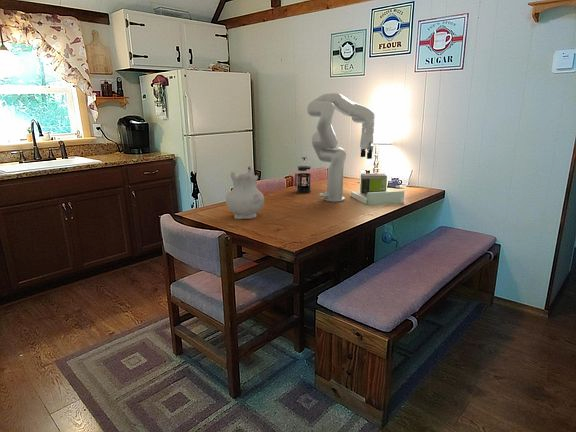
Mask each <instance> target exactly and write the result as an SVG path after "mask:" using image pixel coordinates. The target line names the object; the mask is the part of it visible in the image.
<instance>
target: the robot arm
mask: <svg viewBox="0 0 576 432" xmlns="http://www.w3.org/2000/svg"><path fill="white" fill-rule="evenodd" d="M335 110H336V111H338V112H339V113H340V114H342V115H343V116H347V117H351V120H352V121H353V122H354V123H357V124H361V134H360V140H359V141H360V142H359V143H360V144H359V147H360V158H366V159H367V160H371V159H373V152H374V151H373V150H374V131H375V119H376V117H375V116H376V113H375V111H374V110H372V109H371V108H369V107H367V106H366V105H362V104H359V103H357V102H353V101H352V100H350V99H348V98H347V97H346V96H344V95H342V94H341V93H337V92H331V93H330V92H329V93H323V94H322V95H319V96H318V97H317V98H315V99H312V100H311V101H310V102H309V103H308V105H307V108H306V111H307V114H308V115H309V116H310V117H313V118H317V117H319V120H318V122H317V124H316V132H314V133H313V134H312V137H311V144H312V145H311V146H312V147H313V150H314V151H315V154H316V155H317V158H318V160H319V161H320V162H323V163H329V164H330V165H329V166H328V169H327V171H326V172H327V179H326V180H327V181H326V191H325V192H323V193H319V194H318V196H319V198H323V199H324V201H327V202H334V203H336V202H343V201H345V200H346V197H345V196H343V193H344V191H343V189H344V170H345V169H344V168H345V162H346V157H347V153H346V150H345V149H343V148H342V147H339V146H338V138H337V135H336V133H335V130H334V128H333V125H332V122H333V121H332V120H333V116H334V113H335ZM337 146H338V147H337ZM366 150H367V151H366Z"/></svg>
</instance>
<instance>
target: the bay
mask: <svg viewBox="0 0 576 432" xmlns="http://www.w3.org/2000/svg"><path fill="white" fill-rule="evenodd" d="M350 197H352V198H354V199H355V200H357V201H359V202H361V203H363V204H364V205H367V206H375V205H377V206H378V205H387V204H389V205H390V204H402V203H404V198H405V190H389V191H388V190H386V191H385V192H369V193H367V197H364V196H362V195H360V193H358V192H356V191H354V190H353V191H350Z"/></svg>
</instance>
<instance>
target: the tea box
mask: <svg viewBox="0 0 576 432" xmlns="http://www.w3.org/2000/svg"><path fill="white" fill-rule="evenodd" d="M387 176H388V175H387V174H385V173H382V172H381V173H365V172H364V173H363V172H361V173H360V183H359V184H360V188H359V191H360V192H359V194H360V195H362V196H364V197H367V193H369V192H385V191H387V183H388V182H387V181H388V177H387Z"/></svg>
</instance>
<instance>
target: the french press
mask: <svg viewBox="0 0 576 432" xmlns="http://www.w3.org/2000/svg"><path fill="white" fill-rule="evenodd" d="M301 159H302V160H303V162H305V160H306V159H308V157H305V156H302V157H301ZM311 168H312V166H311V165H310V166H309V165H299V166H298V165H297V171H299V172H298V173H295V174H294V187H296V193H297V192H298V193H297V194H310V193H311V192H312V190H311V188H312V187H311V177H312V174H311V173H307V172H306V171H307V170H311ZM303 178H305V180H303Z"/></svg>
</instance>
